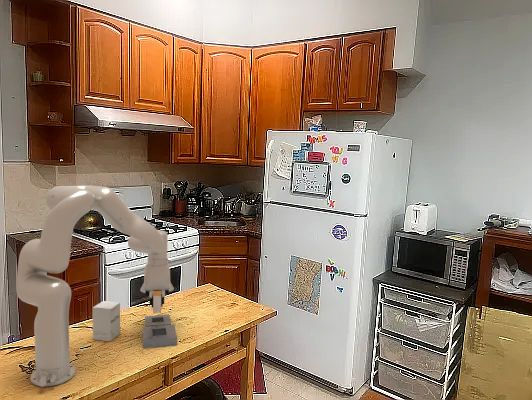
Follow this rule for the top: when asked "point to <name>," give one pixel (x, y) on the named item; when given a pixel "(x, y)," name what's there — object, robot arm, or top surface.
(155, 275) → the robot arm
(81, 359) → the top surface
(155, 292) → the plug
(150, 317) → the grey slotted plate
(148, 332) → the port
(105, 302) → the supplement box
